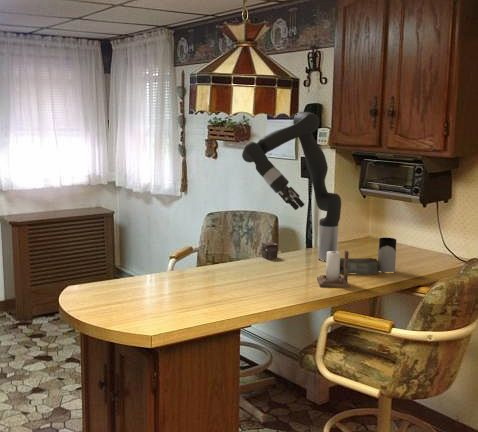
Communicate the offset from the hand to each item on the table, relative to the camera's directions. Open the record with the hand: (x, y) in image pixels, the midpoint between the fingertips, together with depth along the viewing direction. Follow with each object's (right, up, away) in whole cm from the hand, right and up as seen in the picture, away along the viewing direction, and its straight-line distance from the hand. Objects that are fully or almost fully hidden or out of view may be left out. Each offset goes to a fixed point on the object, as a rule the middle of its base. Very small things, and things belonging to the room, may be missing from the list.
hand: (300, 207), depth 253 cm
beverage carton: (+27, -30, +13) cm, 42 cm away
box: (-11, -25, +39) cm, 48 cm away
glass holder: (+42, -29, +18) cm, 54 cm away
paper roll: (+13, -31, -6) cm, 34 cm away
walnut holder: (+13, -32, -6) cm, 35 cm away
